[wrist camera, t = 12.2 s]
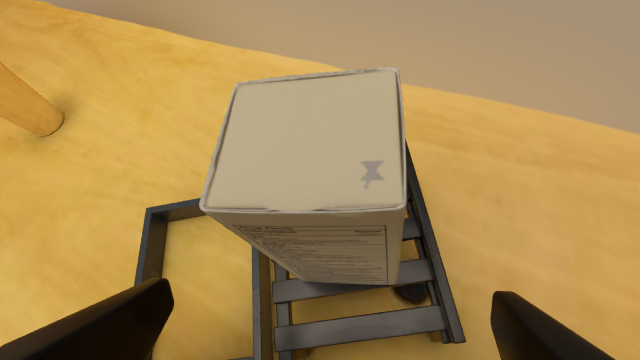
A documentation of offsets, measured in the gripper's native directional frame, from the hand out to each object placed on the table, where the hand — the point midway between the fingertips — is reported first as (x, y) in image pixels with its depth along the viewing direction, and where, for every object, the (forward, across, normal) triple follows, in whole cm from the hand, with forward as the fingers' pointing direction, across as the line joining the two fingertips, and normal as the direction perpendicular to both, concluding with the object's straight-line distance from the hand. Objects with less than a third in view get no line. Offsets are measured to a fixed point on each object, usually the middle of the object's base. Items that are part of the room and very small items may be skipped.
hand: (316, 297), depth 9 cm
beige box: (+8, 0, +3) cm, 8 cm away
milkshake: (+21, +32, -4) cm, 38 cm away
